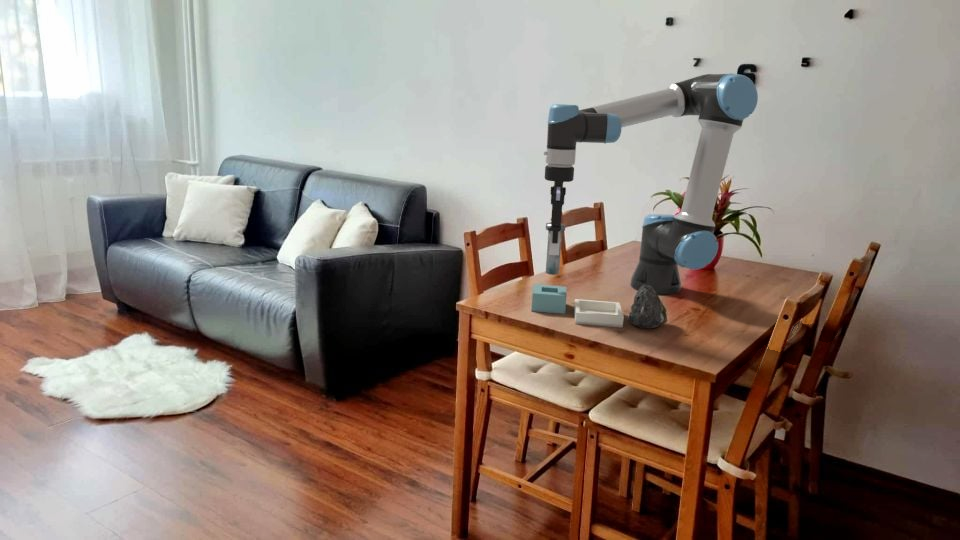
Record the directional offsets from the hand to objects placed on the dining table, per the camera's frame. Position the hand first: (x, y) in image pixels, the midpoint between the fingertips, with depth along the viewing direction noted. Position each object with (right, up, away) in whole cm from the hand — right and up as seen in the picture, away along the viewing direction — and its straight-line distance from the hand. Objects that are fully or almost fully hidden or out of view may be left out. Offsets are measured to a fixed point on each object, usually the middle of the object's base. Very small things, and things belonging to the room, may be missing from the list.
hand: (553, 252), depth 181 cm
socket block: (-1, -15, +4) cm, 16 cm away
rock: (+24, -20, -7) cm, 32 cm away
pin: (0, -6, +2) cm, 6 cm away
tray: (+11, -18, -3) cm, 21 cm away
